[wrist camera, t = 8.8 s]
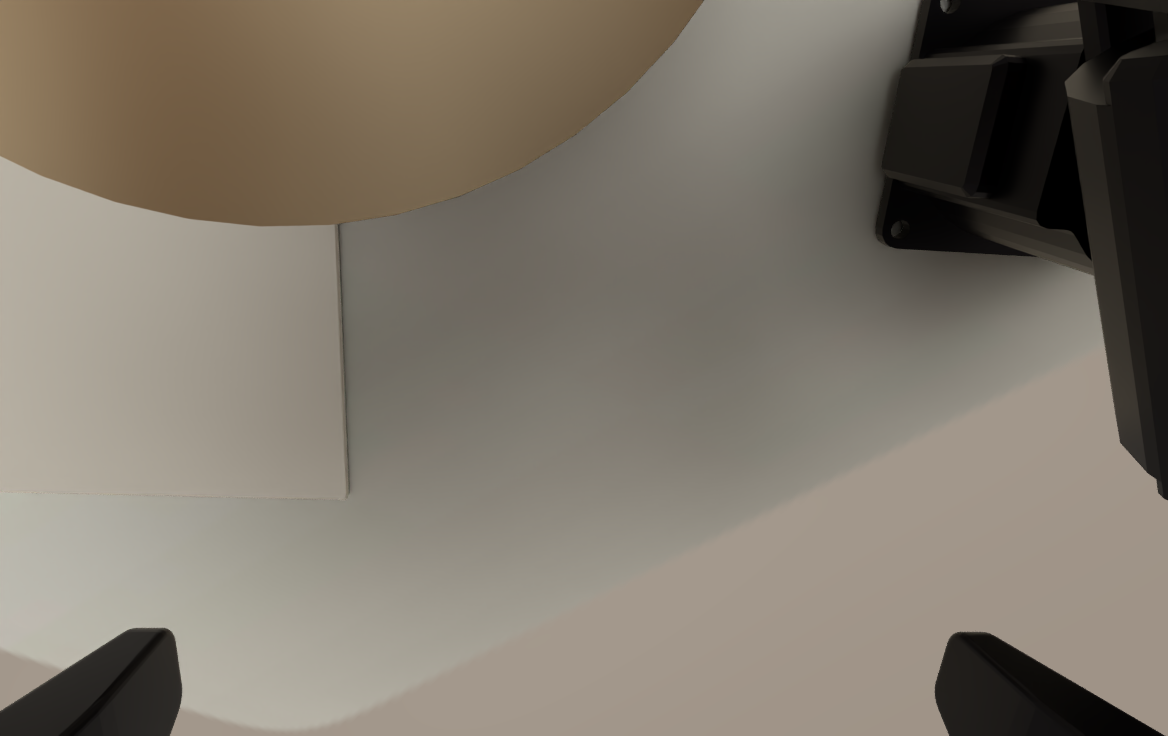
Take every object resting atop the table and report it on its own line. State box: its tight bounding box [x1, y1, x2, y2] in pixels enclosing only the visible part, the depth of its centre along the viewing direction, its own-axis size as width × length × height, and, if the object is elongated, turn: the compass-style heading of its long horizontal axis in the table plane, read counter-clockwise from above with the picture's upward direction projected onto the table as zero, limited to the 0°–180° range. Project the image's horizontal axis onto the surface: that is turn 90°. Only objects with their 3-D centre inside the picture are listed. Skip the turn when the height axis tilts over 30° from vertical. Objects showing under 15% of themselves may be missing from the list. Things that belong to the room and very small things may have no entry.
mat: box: [0, 156, 349, 500], centre depth 19 cm, size 13×13×1 cm
